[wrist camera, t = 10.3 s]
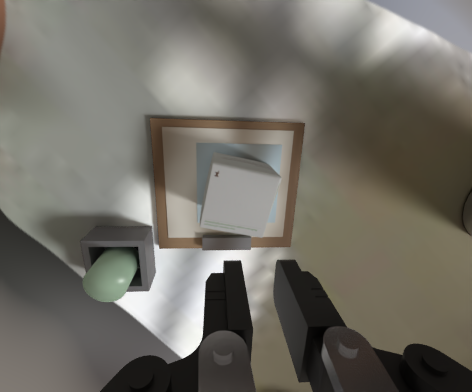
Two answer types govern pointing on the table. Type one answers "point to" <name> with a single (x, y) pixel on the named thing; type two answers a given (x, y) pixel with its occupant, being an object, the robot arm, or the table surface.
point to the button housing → (123, 237)
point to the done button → (111, 273)
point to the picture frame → (196, 172)
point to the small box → (238, 195)
